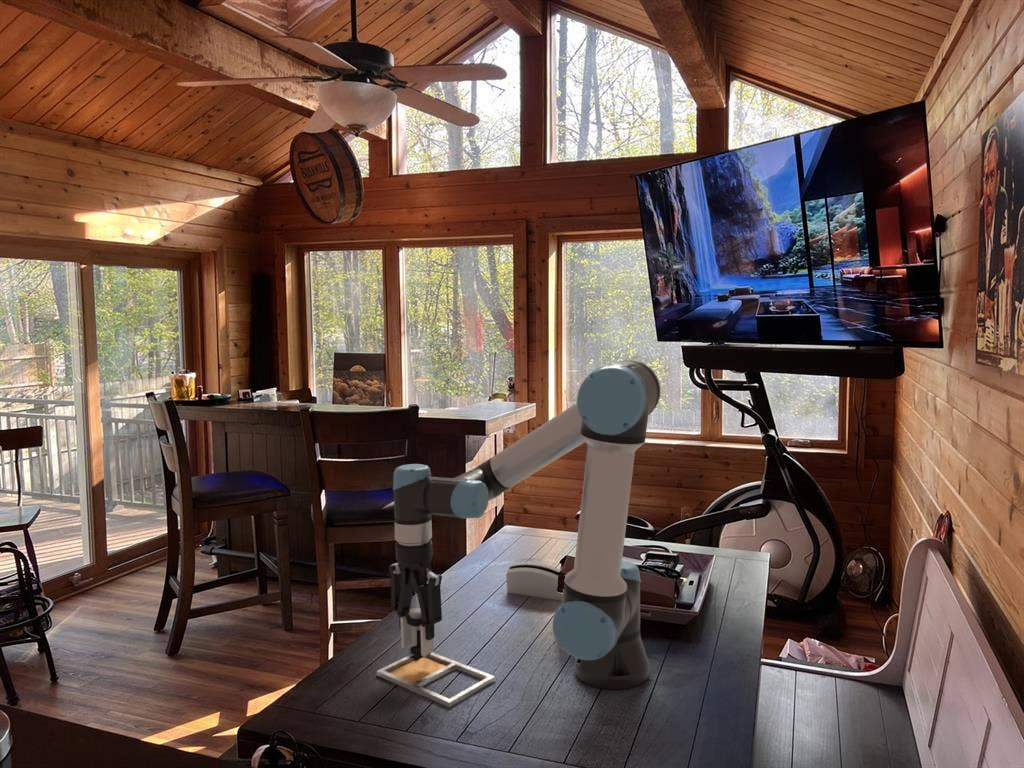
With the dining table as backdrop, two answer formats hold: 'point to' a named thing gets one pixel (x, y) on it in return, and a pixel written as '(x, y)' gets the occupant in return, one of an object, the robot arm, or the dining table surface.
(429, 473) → the robot arm
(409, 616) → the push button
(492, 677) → the white divided frame
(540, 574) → the white rounded block
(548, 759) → the dining table surface
